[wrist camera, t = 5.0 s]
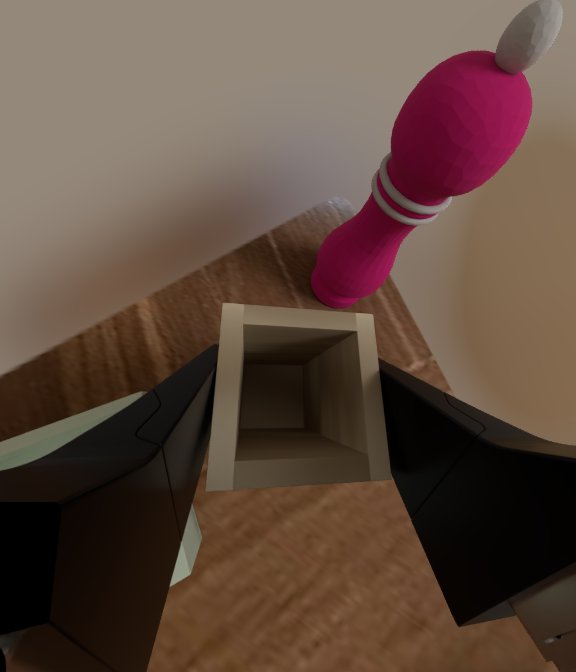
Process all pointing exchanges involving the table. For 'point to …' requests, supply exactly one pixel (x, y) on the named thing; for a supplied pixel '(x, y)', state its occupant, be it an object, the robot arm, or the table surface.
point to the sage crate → (67, 429)
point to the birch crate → (296, 400)
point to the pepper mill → (438, 152)
